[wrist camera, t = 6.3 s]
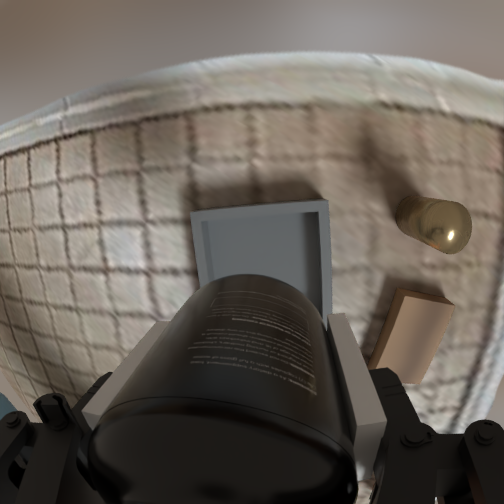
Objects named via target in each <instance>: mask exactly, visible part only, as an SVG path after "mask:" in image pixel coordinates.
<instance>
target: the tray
mask: <svg viewBox="0 0 504 504" xmlns="http://www.w3.org/2000/svg"><path fill="white" fill-rule="evenodd" d="M190 217H191V226H192V233H193V241H194V248H195V256H196V263H197V270H198V277H199V283H200V288H201V287H202V286H204V285H206V284H207V283H209V282H211V281H214V280H216V279H219V278H222V277H225V276H229V275H236V274H259V275H265V276H269V277H273V278H276V279H279V280H281V281H283V282H286V283H288V284H289V285H291V286H293V287H295V288H296V289H297V290H299V291H300V292H302V293H303V294H304V295H305V296H306V297H307V298H308V299H309V300H310V301H311V302H312V303H313V304H314V306H315V307H316V308H317V310H318V312H319V313H320V315H321V317H322V320H323V322H324V324H325V327H326V330H327V314H332V263H331V238H330V220H329V204H328V200H326V199H309V200H295V201H282V202H269V203H258V204H247V205H236V206H226V207H216V208H207V209H198V210H195V211H192V212H190Z"/></svg>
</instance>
